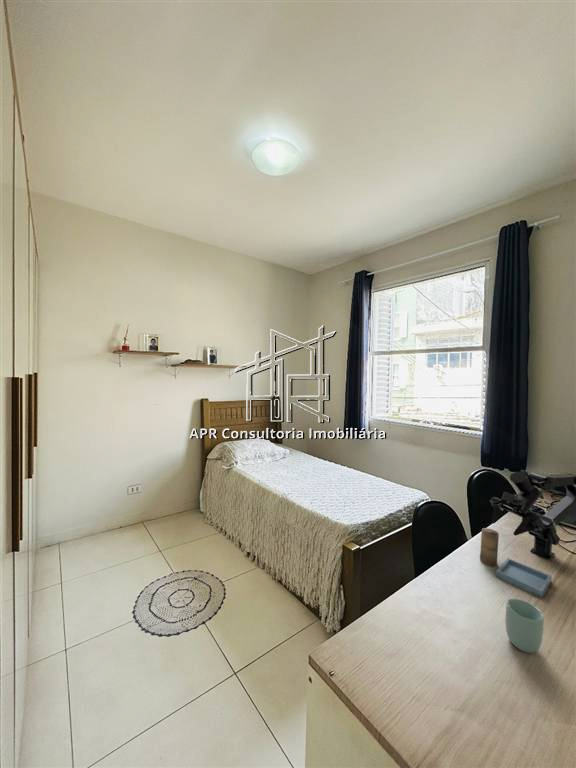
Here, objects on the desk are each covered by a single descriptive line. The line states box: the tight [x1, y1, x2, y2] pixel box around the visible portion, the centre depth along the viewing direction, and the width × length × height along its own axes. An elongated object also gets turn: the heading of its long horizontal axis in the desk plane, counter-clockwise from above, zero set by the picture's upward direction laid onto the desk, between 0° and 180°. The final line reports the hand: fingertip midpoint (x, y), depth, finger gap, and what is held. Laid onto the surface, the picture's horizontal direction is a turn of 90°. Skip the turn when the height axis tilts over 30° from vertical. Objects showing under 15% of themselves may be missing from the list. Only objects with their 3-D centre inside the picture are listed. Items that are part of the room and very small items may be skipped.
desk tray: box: [495, 557, 553, 599], centre depth 109 cm, size 13×13×2 cm
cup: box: [505, 598, 545, 654], centre depth 81 cm, size 8×8×10 cm
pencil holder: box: [479, 527, 500, 567], centre depth 118 cm, size 6×6×12 cm
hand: (502, 528), depth 120 cm, fingers open, 9 cm apart
